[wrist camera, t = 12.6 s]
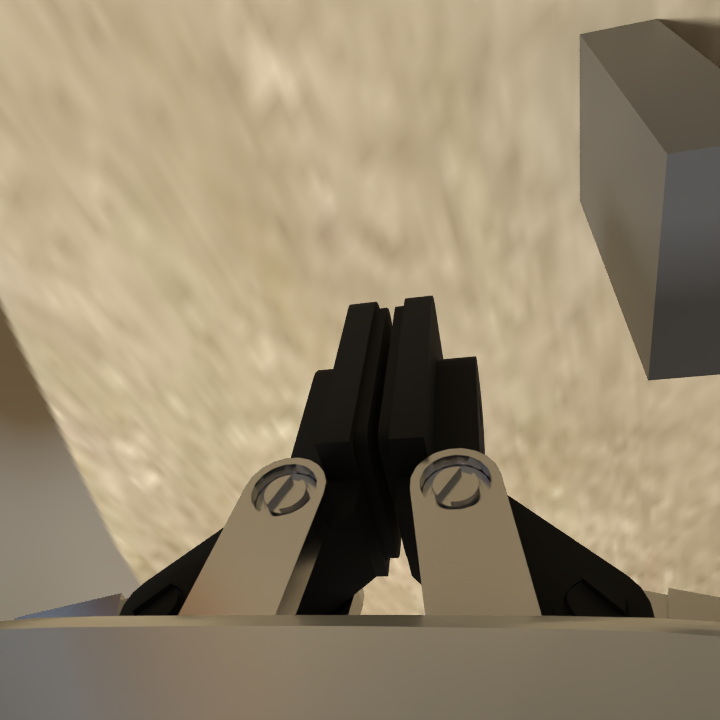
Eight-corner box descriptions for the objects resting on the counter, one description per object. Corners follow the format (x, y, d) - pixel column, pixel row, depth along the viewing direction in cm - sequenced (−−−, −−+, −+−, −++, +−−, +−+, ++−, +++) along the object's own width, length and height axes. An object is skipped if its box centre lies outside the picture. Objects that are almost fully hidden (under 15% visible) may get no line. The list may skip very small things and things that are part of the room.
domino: (580, 200, 20) (648, 380, 13) (579, 34, 17) (666, 154, 10) (645, 191, 20) (751, 371, 13) (656, 19, 17) (802, 132, 10)
